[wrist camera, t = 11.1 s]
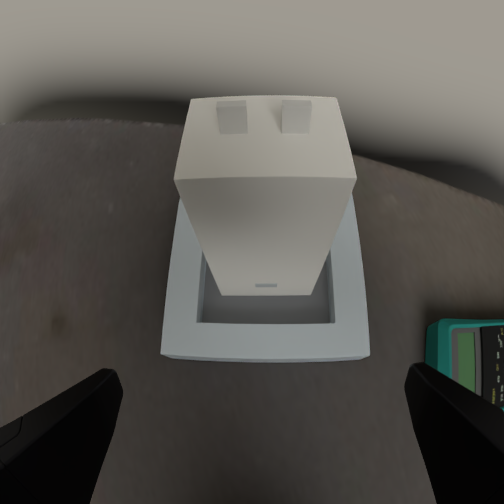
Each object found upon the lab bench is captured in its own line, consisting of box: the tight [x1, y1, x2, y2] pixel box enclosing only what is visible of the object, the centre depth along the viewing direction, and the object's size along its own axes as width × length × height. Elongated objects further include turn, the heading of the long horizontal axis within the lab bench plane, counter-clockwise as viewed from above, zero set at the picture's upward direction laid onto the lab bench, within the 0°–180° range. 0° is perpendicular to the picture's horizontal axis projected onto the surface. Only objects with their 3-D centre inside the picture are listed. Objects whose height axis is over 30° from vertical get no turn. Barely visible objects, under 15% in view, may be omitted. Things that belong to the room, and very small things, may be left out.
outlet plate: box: [161, 193, 370, 363], centre depth 20 cm, size 12×12×2 cm
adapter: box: [174, 95, 357, 296], centre depth 15 cm, size 4×6×13 cm
